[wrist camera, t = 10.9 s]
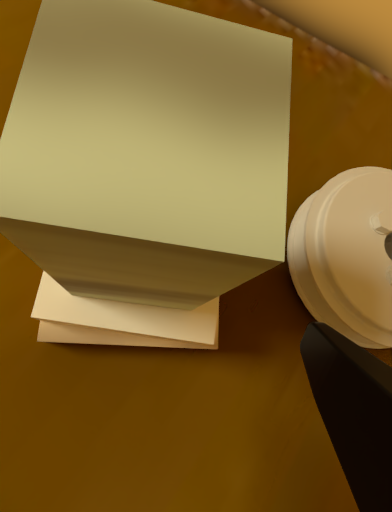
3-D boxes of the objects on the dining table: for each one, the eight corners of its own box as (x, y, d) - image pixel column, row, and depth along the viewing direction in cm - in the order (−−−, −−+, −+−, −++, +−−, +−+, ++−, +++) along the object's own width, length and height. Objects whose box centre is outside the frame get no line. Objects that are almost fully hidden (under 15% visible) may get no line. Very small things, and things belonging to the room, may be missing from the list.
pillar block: (191, 310, 18) (284, 261, 7) (71, 295, 17) (-22, 213, 6) (202, 204, 19) (292, 38, 9) (94, 184, 18) (50, -27, 8)
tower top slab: (202, 345, 20) (213, 344, 18) (42, 321, 18) (30, 317, 16) (220, 206, 22) (232, 189, 20) (81, 175, 21) (76, 153, 19)
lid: (304, 164, 28) (342, 125, 23) (436, 226, 29) (497, 202, 24) (260, 309, 24) (295, 299, 19) (415, 374, 25) (484, 380, 20)
